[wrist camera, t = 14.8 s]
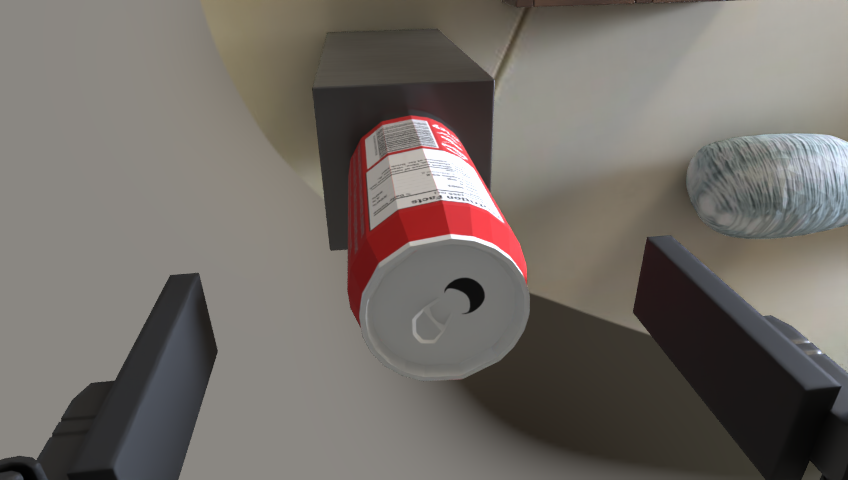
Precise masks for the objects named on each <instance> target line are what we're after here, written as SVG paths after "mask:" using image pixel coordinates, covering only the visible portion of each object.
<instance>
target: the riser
mask: <svg viewBox="0 0 848 480" xmlns="http://www.w3.org/2000/svg"><path fill="white" fill-rule="evenodd" d="M494 90H495V80H494V79H493V78H492V77H491V76H490V75H489V74H488V73H487V72H486V71H484V70H483V69H482V68H481V67H480V66H479V65H478V64H477V63H476V62H474V61H473V60H472V59H471V58H470V57H469V56H468V55H467V54H465V53H464V52H463V51H462V50H461V49H460V48H459V47H458V46H457V45H455V44H454V43H453V42H452V41H451V40H450V39H449V38H448V37H446V36H445V35H444V34H443V33H442V32H441V31H440V30H439V29H411V30H383V31H355V32H328V33H327V35H326V39H325V42H324V46H323V50H322V54H321V58H320V61H319V65H318V69H317V73H316V77H315V80H314V84H313V88H312V91H313V100H314V109H315V118H316V127H317V136H318V145H319V154H320V163H321V172H322V181H323V191H324V200H325V209H326V218H327V226H328V236H329V244H330V250H331V251H332V250H346V249H348V175H349V167H350V159H351V157H352V155H353V153H354V151H355V149H356V147H357V145H358V143H359V141H360V139H361V138H362V137H363V136H364V135H366V134H367V133H368V132H369V131H371V130H372V129H373V128H374V127H376V126H377V125H378V124H379V123H380V122H382V121H386V120H391V119H396V118H400V117H405V116H410V115H412V116H419V117H427V118H430V119H433V120H435V121H437V122H440V123H442V124H443V125H444V126H445V127H447V128H448V129H449V130H450V131H452V132H453V133H454V134H455V135H456V136H457V138H458V139H459V141H460V142H461V143H462V145H463V147H464V148H465V150H466V152H467V154H468V155H469V157H470V159H471V160H472V162H473V164H474V166H475V167H476V169H477V171H478V173H479V174H480V176H481V178H482V180H483V181H484V183H485V185H486V187H487V188H488V190H489V192H490V193H491V167H492V141H493V115H494Z"/></svg>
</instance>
